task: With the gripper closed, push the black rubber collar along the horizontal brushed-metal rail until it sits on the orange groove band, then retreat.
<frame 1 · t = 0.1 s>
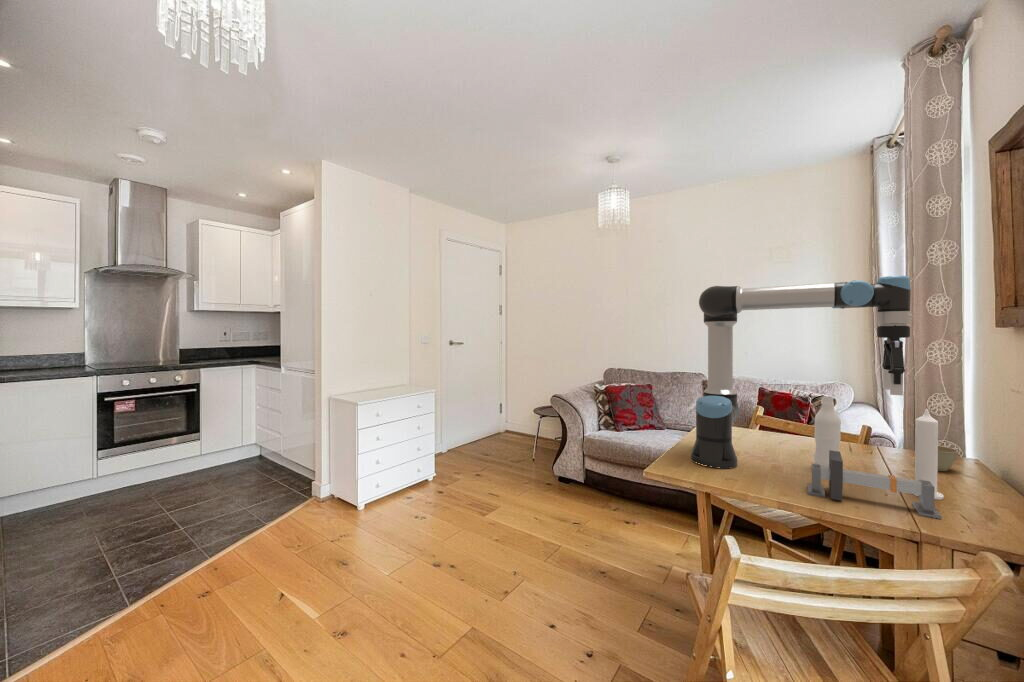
hand: (892, 392, 126), 28 cm above the table, fingers open, 13 cm apart
water bottle: (827, 470, 136), on the table
candle: (925, 495, 115), on the table
flower pot: (935, 469, 136), on the table
collar: (835, 474, 115), point 6 cm above the table, slide at 0.0 cm
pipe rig: (867, 500, 111), on the table
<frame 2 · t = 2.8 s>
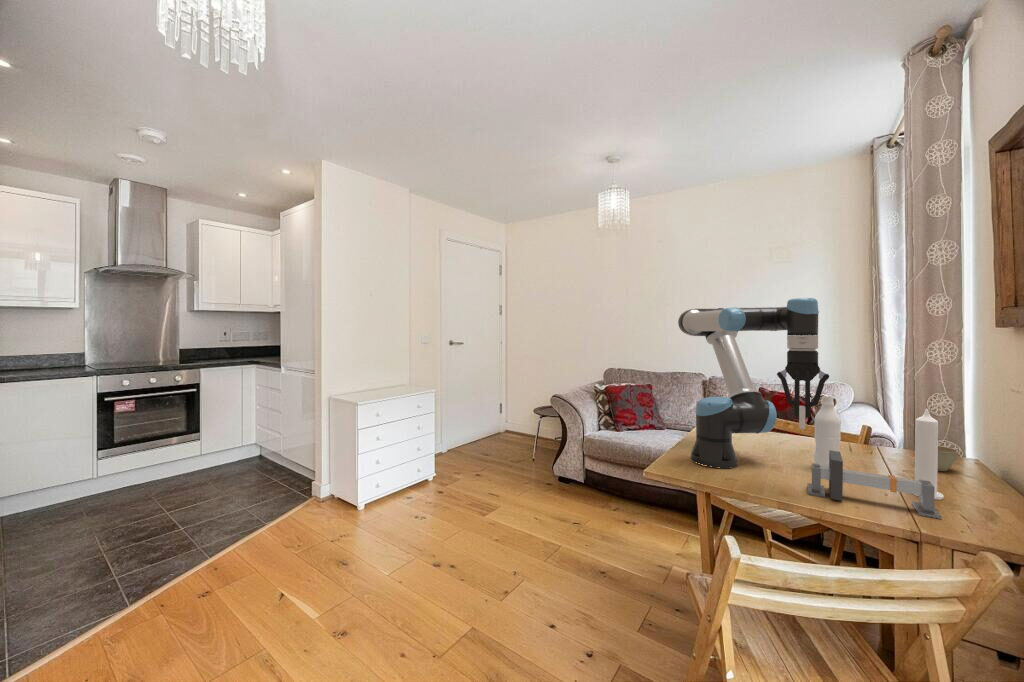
hand: (802, 428, 119), 19 cm above the table, fingers closed
nothing on the table moved.
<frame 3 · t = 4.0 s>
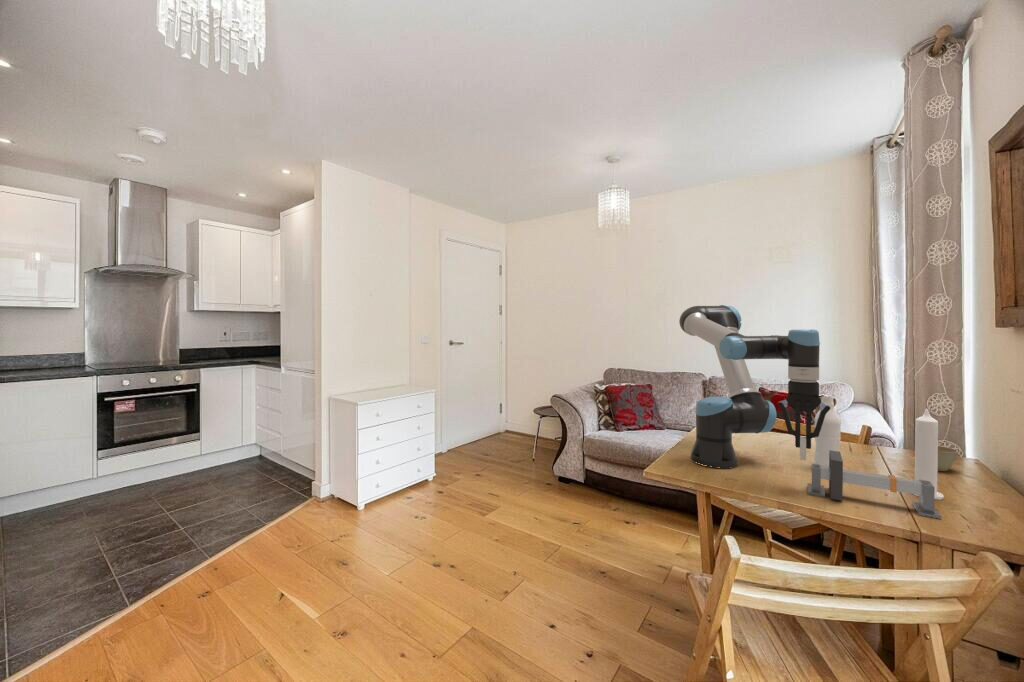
hand: (803, 458, 119), 9 cm above the table, fingers closed
nothing on the table moved.
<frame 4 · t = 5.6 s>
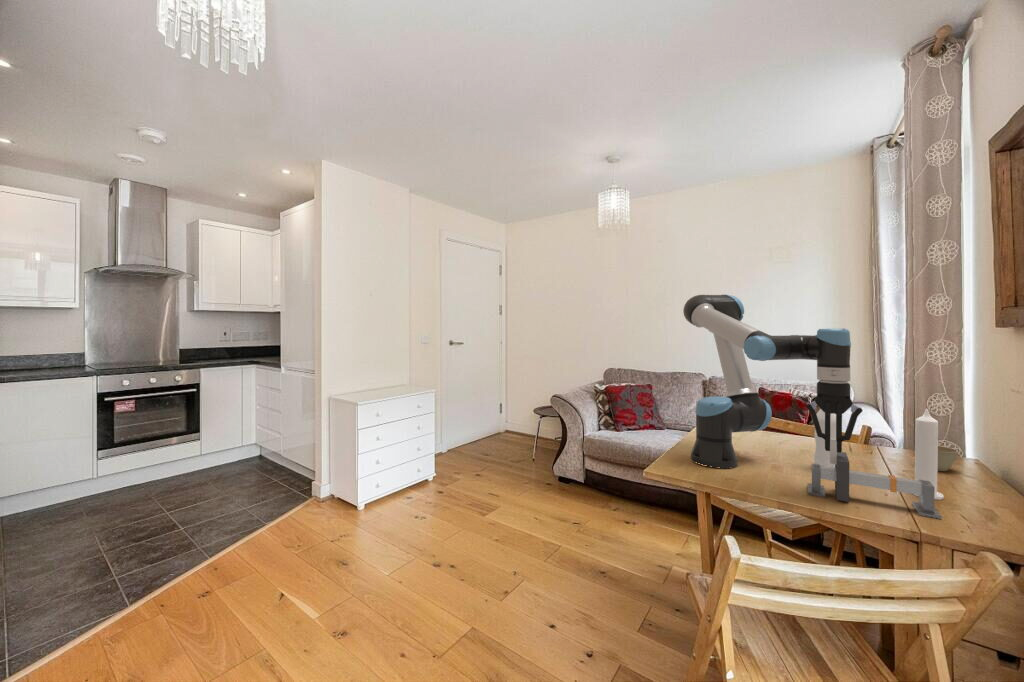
hand: (833, 462, 115), 9 cm above the table, fingers closed
collar: (841, 475, 114), point 6 cm above the table, slide at 1.4 cm, touching gripper
everything else where it was.
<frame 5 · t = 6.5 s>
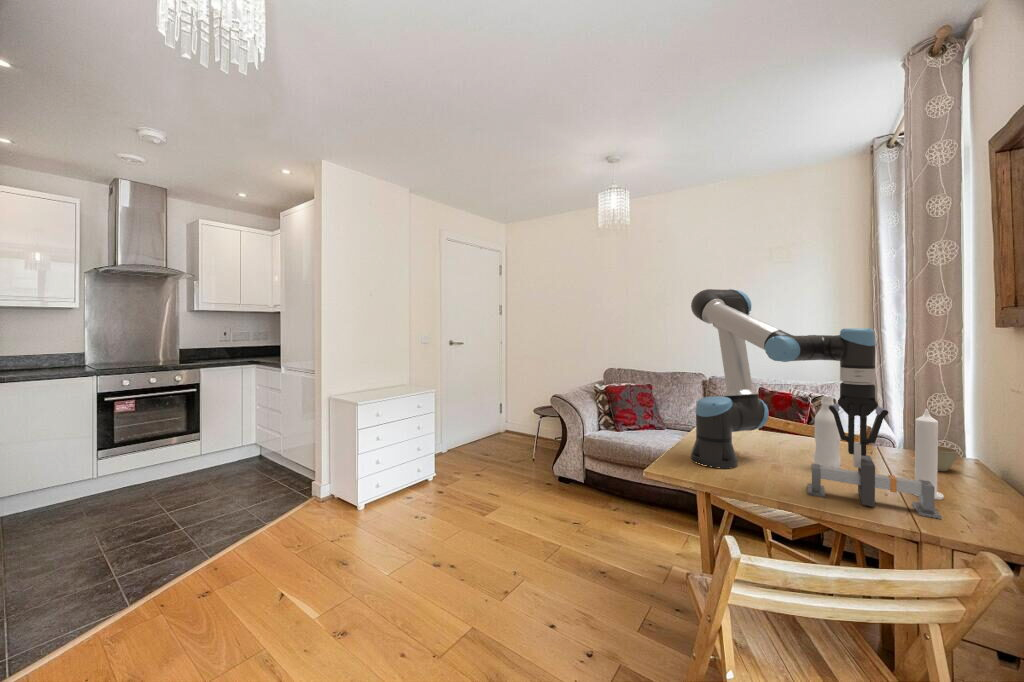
hand: (857, 466, 112), 9 cm above the table, fingers closed
collar: (866, 479, 111), point 6 cm above the table, slide at 6.7 cm, touching gripper
everything else where it was.
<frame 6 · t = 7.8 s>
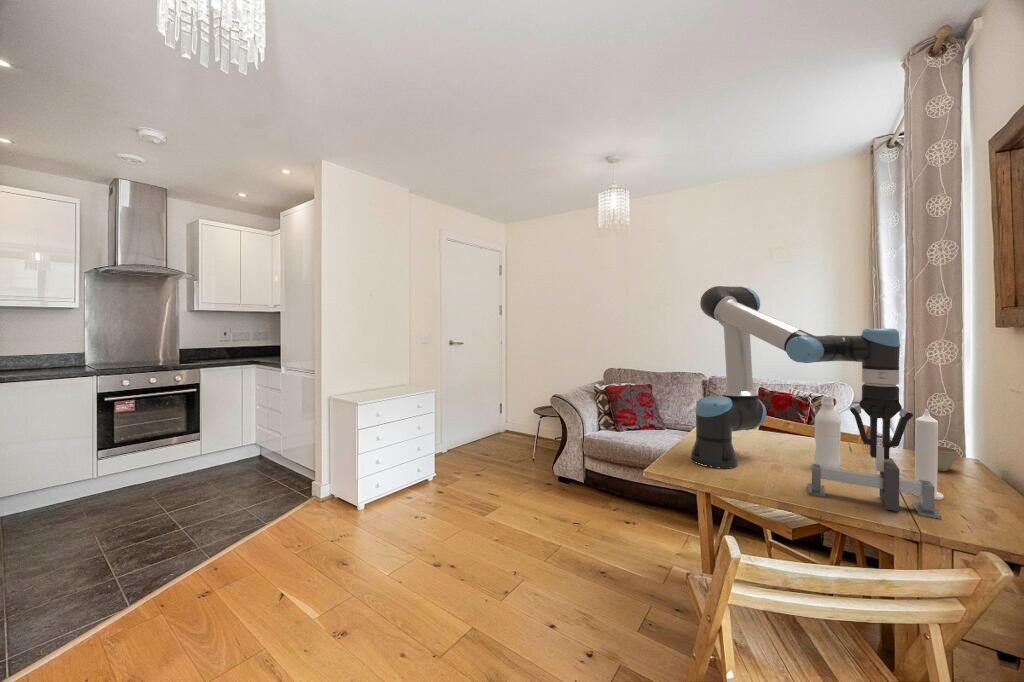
hand: (879, 469, 109), 9 cm above the table, fingers closed
collar: (889, 482, 108), point 6 cm above the table, slide at 11.3 cm, touching gripper
everything else where it was.
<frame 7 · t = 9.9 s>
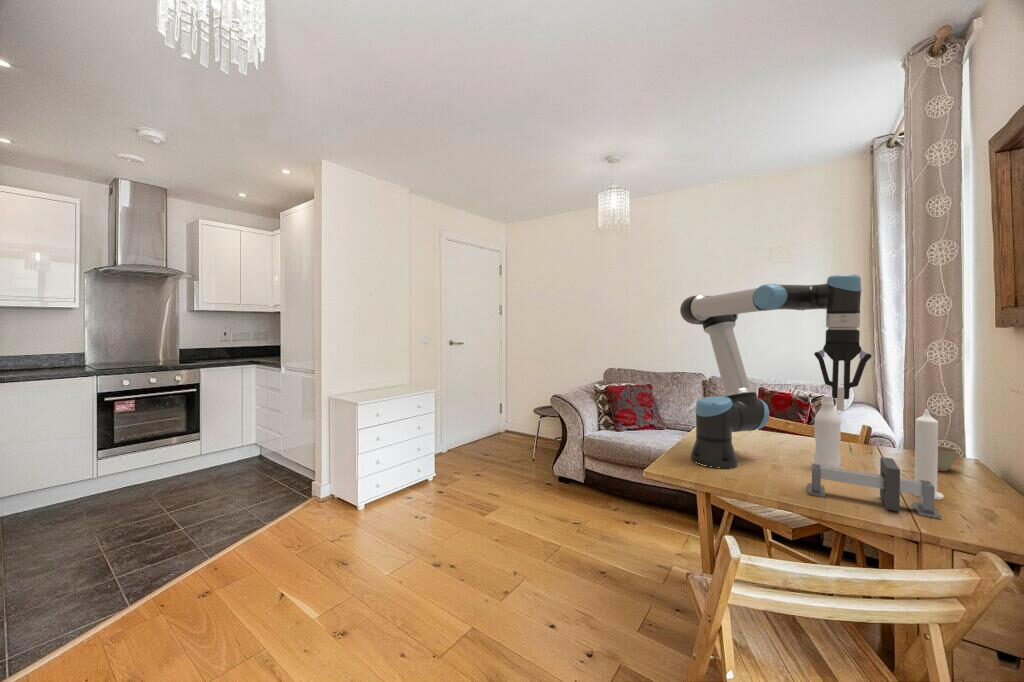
hand: (840, 409, 115), 25 cm above the table, fingers closed
collar: (889, 483, 108), point 6 cm above the table, slide at 11.4 cm
everything else where it was.
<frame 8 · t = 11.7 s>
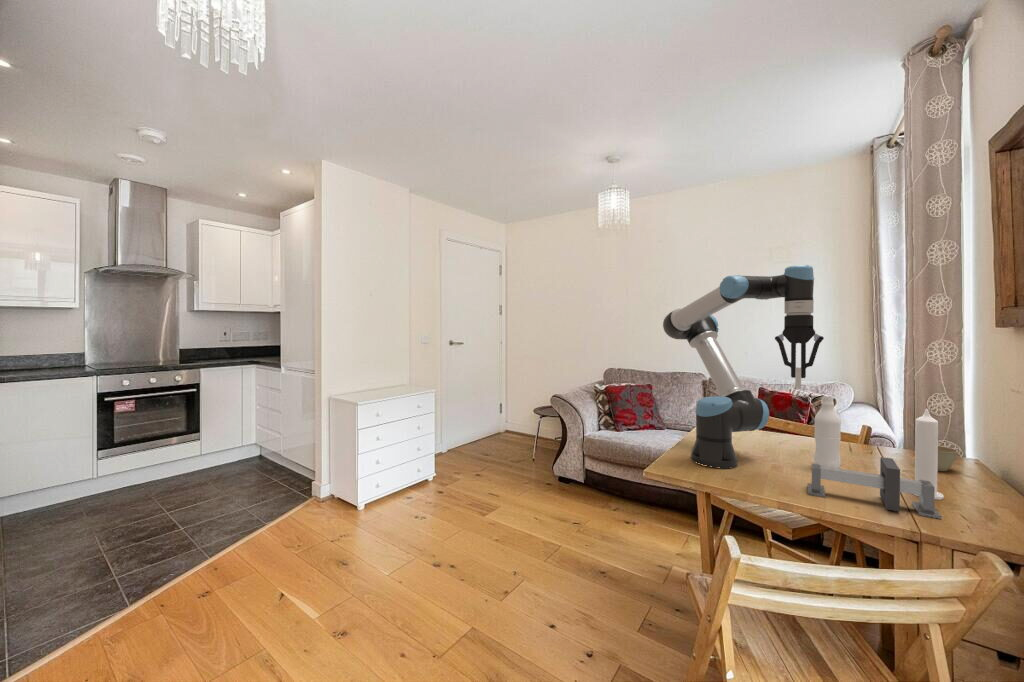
hand: (798, 388, 127), 29 cm above the table, fingers closed
nothing on the table moved.
at the end: collar slide at 11.4 cm; the gripper is holding nothing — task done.
